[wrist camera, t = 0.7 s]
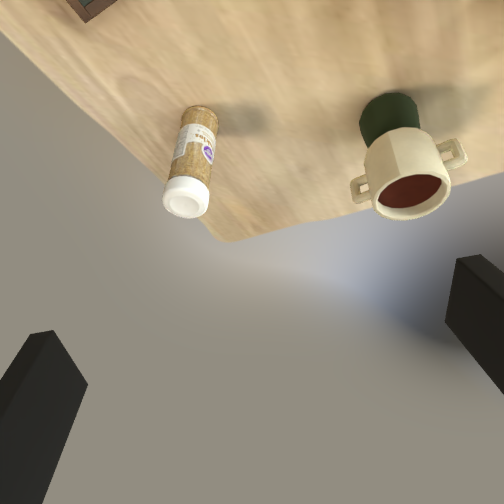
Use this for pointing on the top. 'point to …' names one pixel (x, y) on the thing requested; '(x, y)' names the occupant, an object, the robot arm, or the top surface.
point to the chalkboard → (89, 7)
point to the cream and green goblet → (403, 161)
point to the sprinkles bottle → (192, 164)
